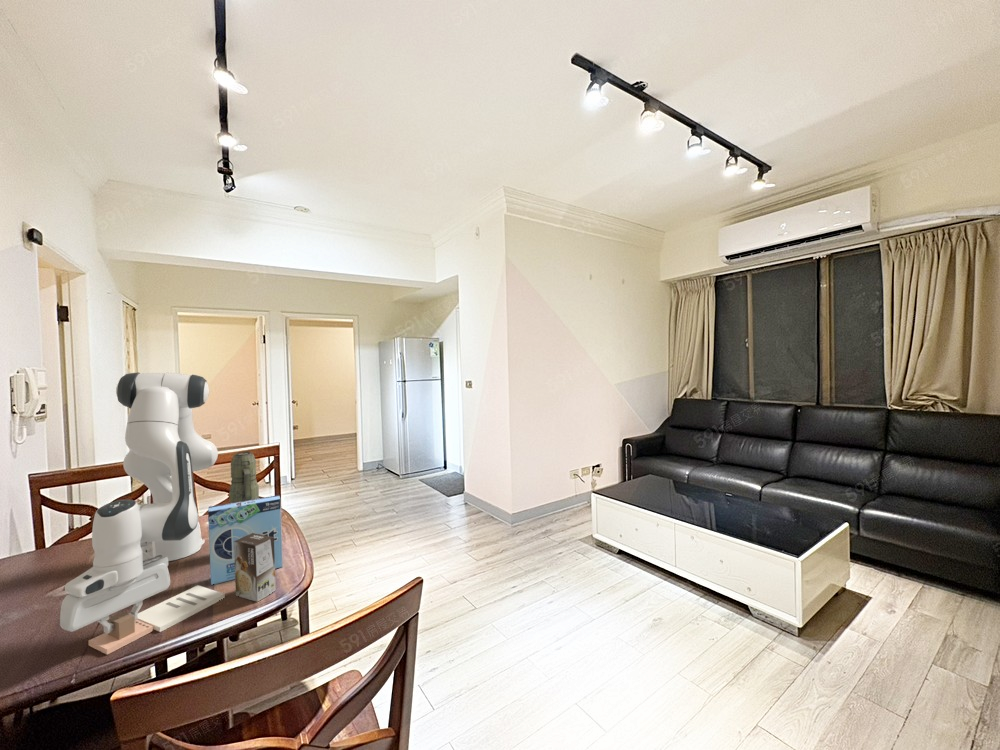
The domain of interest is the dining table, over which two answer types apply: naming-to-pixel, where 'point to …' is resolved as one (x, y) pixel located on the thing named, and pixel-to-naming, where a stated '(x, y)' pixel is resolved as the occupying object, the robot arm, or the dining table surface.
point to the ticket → (179, 607)
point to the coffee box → (254, 566)
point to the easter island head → (243, 478)
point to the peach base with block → (120, 633)
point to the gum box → (241, 532)
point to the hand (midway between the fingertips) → (121, 626)
